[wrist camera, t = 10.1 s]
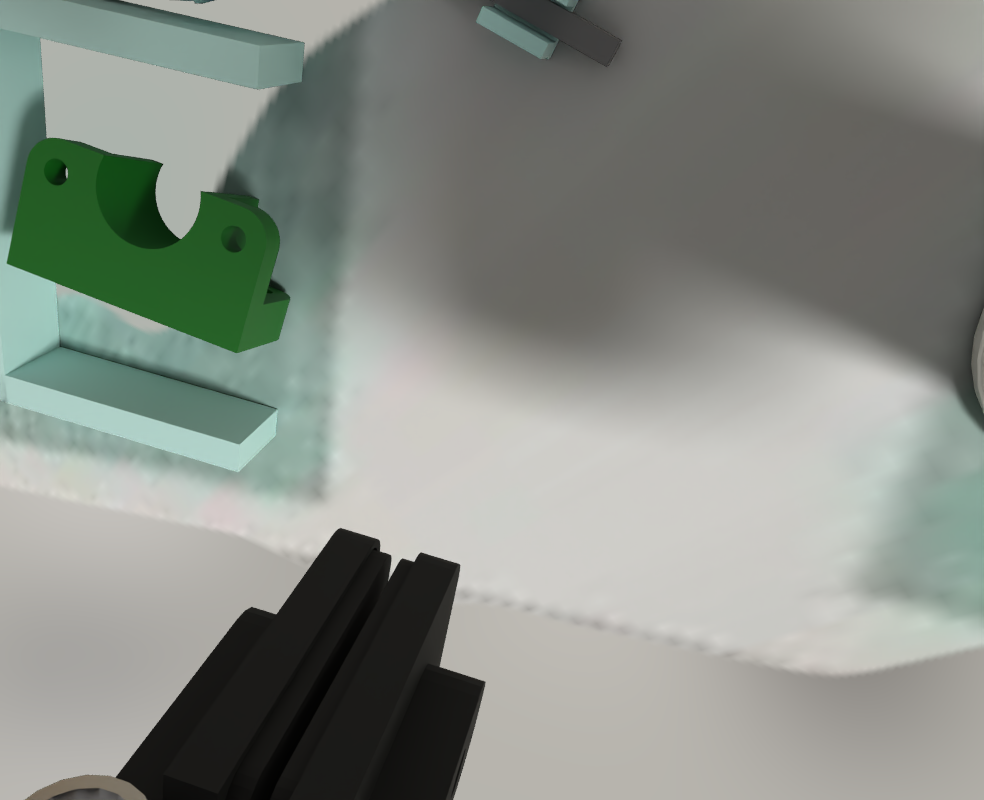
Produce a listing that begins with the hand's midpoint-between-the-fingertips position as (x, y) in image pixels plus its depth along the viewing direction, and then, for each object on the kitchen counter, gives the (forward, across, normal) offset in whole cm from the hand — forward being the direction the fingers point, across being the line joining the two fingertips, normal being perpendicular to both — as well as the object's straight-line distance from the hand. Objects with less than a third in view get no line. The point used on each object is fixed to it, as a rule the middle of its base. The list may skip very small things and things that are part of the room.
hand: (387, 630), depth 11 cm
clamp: (+27, +19, +6) cm, 34 cm away
